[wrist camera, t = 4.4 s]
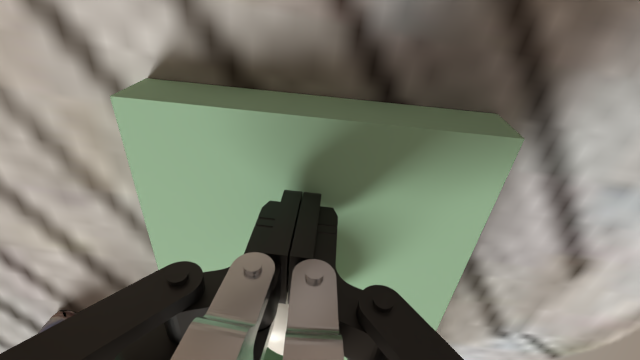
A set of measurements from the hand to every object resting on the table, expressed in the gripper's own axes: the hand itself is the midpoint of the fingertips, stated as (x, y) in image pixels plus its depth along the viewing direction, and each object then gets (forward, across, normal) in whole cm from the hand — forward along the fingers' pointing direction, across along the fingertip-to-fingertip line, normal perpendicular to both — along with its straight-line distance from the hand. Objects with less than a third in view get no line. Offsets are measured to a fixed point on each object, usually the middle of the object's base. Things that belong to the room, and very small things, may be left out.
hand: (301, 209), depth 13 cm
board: (+3, 0, +7) cm, 7 cm away
